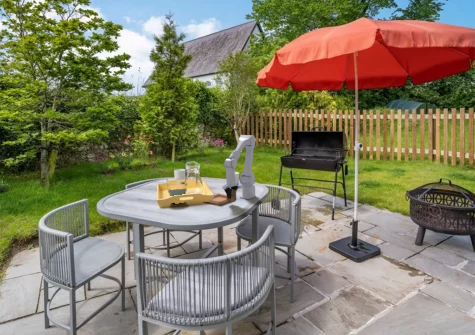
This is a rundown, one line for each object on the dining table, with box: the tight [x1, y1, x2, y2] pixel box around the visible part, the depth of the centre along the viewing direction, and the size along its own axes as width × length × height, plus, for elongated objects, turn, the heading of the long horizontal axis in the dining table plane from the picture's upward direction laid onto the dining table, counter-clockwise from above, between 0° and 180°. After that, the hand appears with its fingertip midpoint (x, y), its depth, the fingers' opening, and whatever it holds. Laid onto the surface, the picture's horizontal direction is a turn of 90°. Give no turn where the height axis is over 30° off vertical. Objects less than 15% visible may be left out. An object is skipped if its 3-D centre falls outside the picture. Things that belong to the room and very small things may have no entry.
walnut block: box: [225, 189, 237, 203], centre depth 195 cm, size 4×5×7 cm
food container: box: [167, 187, 187, 197], centre depth 202 cm, size 12×6×10 cm, turn 101°
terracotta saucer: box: [208, 193, 231, 206], centre depth 206 cm, size 15×15×2 cm
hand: (231, 197), depth 196 cm, fingers closed on walnut block, 4 cm apart
